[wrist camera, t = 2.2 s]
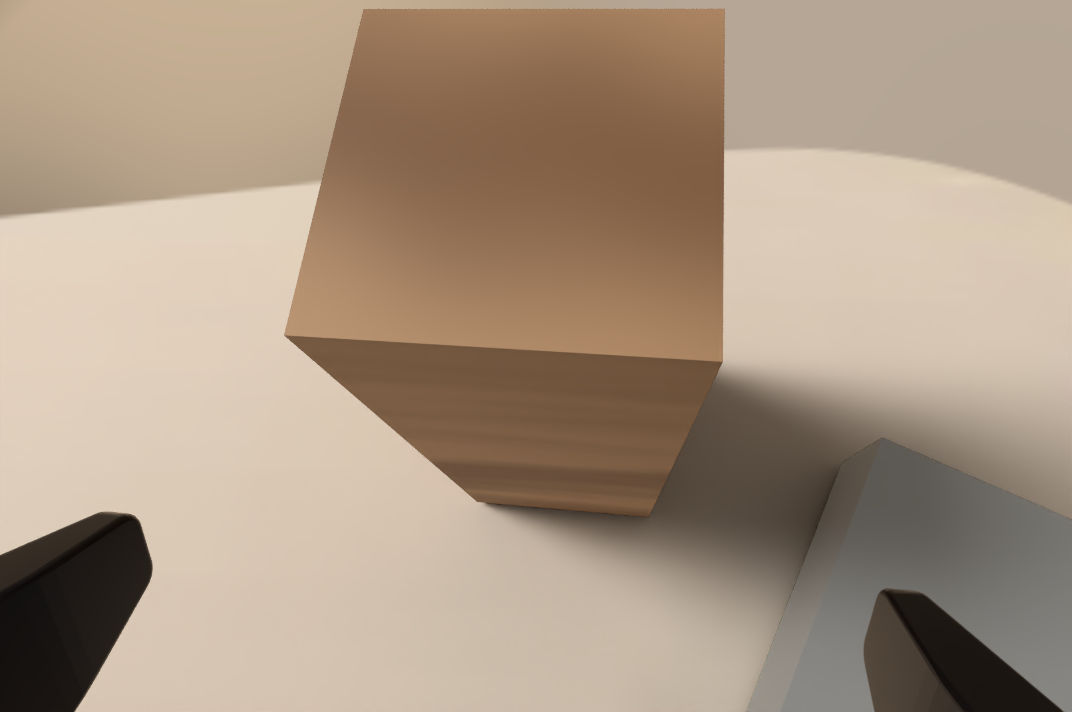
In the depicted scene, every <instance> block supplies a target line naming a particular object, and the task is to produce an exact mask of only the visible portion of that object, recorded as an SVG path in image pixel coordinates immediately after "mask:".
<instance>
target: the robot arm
mask: <svg viewBox="0 0 1072 712" xmlns="http://www.w3.org/2000/svg"><path fill="white" fill-rule="evenodd" d="M152 570H153V565H152V560H151V557H150V553H149V550H148V547H147V543H146V540H145V537H144V533H143V530H142V527H141V524H140V521H139V520H138V519H137V518H136V517H135V516H134V515H131V514H127V513H117V512H100V513H97V514H94V515H92V516H90V517H87V518H85V519H83V520H80V521H78V522H76V523H73V524H71V525H69V526H66V527H64V528H62V529H60V530H57V531H55V532H53V533H50V534H48V535H46V536H43V537H41V538H39V539H36V540H34V541H32V542H29V543H27V544H25V545H23V546H20V547H18V548H16V549H13V550H11V551H9V552H6V553H4V554H2V555H0V712H75V710H76V709H77V707H78V706H79V704H80V703H81V701H82V700H83V698H84V697H85V695H86V693H87V692H88V690H89V688H90V687H91V685H92V683H93V681H94V680H95V678H96V676H97V675H98V673H99V671H100V669H101V668H102V666H103V664H104V662H105V661H106V659H107V657H108V655H109V653H110V652H111V650H112V648H113V646H114V645H115V643H116V641H117V639H118V638H119V636H120V634H121V632H122V630H123V629H124V627H125V625H126V623H127V622H128V620H129V618H130V616H131V615H132V613H133V611H134V609H135V607H136V606H137V604H138V602H139V600H140V599H141V597H142V595H143V593H144V592H145V590H146V588H147V586H148V584H149V582H150V579H151V576H152ZM863 655H864V664H865V669H866V674H867V679H868V683H869V688H870V693H871V698H872V703H873V708H874V712H1064V711H1063V710H1062V709H1061V708H1059V707H1058V706H1057V705H1056V704H1055V703H1054V702H1052V701H1051V700H1050V699H1049V698H1048V697H1046V696H1045V695H1044V694H1043V693H1042V692H1041V691H1039V690H1038V689H1037V688H1036V687H1035V686H1033V685H1032V684H1031V683H1030V682H1029V681H1027V680H1026V679H1025V678H1024V677H1023V676H1022V675H1020V674H1019V673H1018V672H1017V671H1016V670H1014V669H1013V668H1012V667H1011V666H1010V665H1009V664H1007V663H1006V662H1005V661H1004V660H1003V659H1001V658H1000V657H999V656H998V655H997V654H995V653H994V652H993V651H992V650H991V649H990V648H988V647H987V646H986V645H985V644H984V643H982V642H981V641H980V640H979V639H978V638H977V637H975V636H974V635H973V634H972V633H971V632H969V631H968V630H967V629H966V628H965V627H963V626H962V625H961V624H960V623H959V622H958V621H956V620H955V619H954V618H953V617H952V616H950V615H949V614H948V613H947V612H946V611H945V610H943V609H942V608H941V607H940V606H939V605H937V604H936V603H935V602H934V601H933V600H931V599H930V598H929V597H928V596H926V595H925V594H923V593H921V592H919V591H914V590H903V589H893V588H886V589H883V590H881V591H880V592H879V594H878V596H877V598H876V601H875V605H874V608H873V612H872V615H871V619H870V622H869V626H868V629H867V633H866V636H865V640H864V647H863Z"/></svg>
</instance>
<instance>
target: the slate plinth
mask: <svg viewBox="0 0 1072 712" xmlns="http://www.w3.org/2000/svg"><path fill="white" fill-rule="evenodd" d="M886 588H893V589H903V590H914V591H919V592H921V593H923V594H925V595H926V596H928V597H929V598H930V599H931V600H933V601H934V602H935V603H936V604H937V605H939V606H940V607H941V608H942V609H943V610H945V611H946V612H947V613H948V614H949V615H950V616H952V617H953V618H954V619H955V620H956V621H958V622H959V623H960V624H961V625H962V626H963V627H965V628H966V629H967V630H968V631H969V632H971V633H972V634H973V635H974V636H975V637H977V638H978V639H979V640H980V641H981V642H982V643H984V644H985V645H986V646H987V647H988V648H990V649H991V650H992V651H993V652H994V653H995V654H997V655H998V656H999V657H1000V658H1001V659H1003V660H1004V661H1005V662H1006V663H1007V664H1009V665H1010V666H1011V667H1012V668H1013V669H1014V670H1016V671H1017V672H1018V673H1019V674H1020V675H1022V676H1023V677H1024V678H1025V679H1026V680H1027V681H1029V682H1030V683H1031V684H1032V685H1033V686H1035V687H1036V688H1037V689H1038V690H1039V691H1041V692H1042V693H1043V694H1044V695H1045V696H1046V697H1048V698H1049V699H1050V700H1051V701H1052V702H1054V703H1055V704H1056V705H1057V706H1058V707H1059V708H1061V709H1062V710H1063V711H1064V712H1072V520H1071V519H1069V518H1067V517H1064V516H1062V515H1060V514H1058V513H1055V512H1053V511H1051V510H1048V509H1046V508H1044V507H1041V506H1039V505H1037V504H1034V503H1032V502H1030V501H1028V500H1025V499H1023V498H1021V497H1018V496H1016V495H1014V494H1011V493H1009V492H1007V491H1005V490H1002V489H1000V488H998V487H995V486H993V485H991V484H988V483H986V482H984V481H981V480H979V479H977V478H975V477H972V476H970V475H968V474H965V473H963V472H961V471H958V470H956V469H954V468H951V467H949V466H947V465H945V464H942V463H940V462H938V461H935V460H933V459H931V458H928V457H926V456H924V455H921V454H919V453H917V452H915V451H912V450H910V449H908V448H905V447H903V446H901V445H898V444H896V443H894V442H891V441H889V440H887V439H885V438H880V439H879V440H877V441H876V442H874V443H872V444H871V445H869V446H868V447H866V448H864V449H863V450H861V451H860V452H858V453H856V454H855V455H853V456H852V457H850V458H848V459H847V460H845V461H844V462H842V464H841V467H840V469H839V472H838V474H837V477H836V479H835V482H834V485H833V487H832V490H831V492H830V495H829V498H828V500H827V503H826V505H825V508H824V511H823V513H822V516H821V518H820V521H819V524H818V526H817V529H816V531H815V534H814V537H813V539H812V542H811V544H810V547H809V550H808V552H807V555H806V557H805V560H804V563H803V565H802V568H801V570H800V573H799V576H798V578H797V581H796V583H795V586H794V589H793V591H792V594H791V596H790V599H789V602H788V604H787V607H786V609H785V612H784V615H783V617H782V620H781V622H780V625H779V628H778V630H777V633H776V635H775V638H774V641H773V643H772V646H771V648H770V651H769V654H768V656H767V659H766V661H765V664H764V667H763V669H762V672H761V674H760V677H759V680H758V682H757V685H756V687H755V690H754V693H753V695H752V698H751V700H750V703H749V706H748V708H747V711H746V712H874V708H873V703H872V698H871V693H870V688H869V683H868V679H867V674H866V669H865V664H864V655H863V647H864V640H865V636H866V633H867V629H868V626H869V622H870V619H871V615H872V612H873V608H874V605H875V601H876V598H877V596H878V594H879V592H880V591H881V590H883V589H886Z"/></svg>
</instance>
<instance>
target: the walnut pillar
mask: <svg viewBox="0 0 1072 712" xmlns="http://www.w3.org/2000/svg"><path fill="white" fill-rule="evenodd" d="M724 33H725V9H364V10H363V14H362V18H361V22H360V26H359V30H358V34H357V38H356V43H355V47H354V51H353V55H352V59H351V63H350V67H349V71H348V75H347V79H346V84H345V88H344V92H343V96H342V100H341V104H340V108H339V113H338V116H337V120H336V125H335V129H334V133H333V137H332V141H331V146H330V149H329V153H328V158H327V162H326V166H325V170H324V174H323V178H322V182H321V186H320V190H319V194H318V198H317V203H316V207H315V211H314V215H313V219H312V223H311V227H310V231H309V235H308V240H307V244H306V248H305V252H304V256H303V260H302V264H301V268H300V272H299V276H298V281H297V285H296V289H295V293H294V297H293V301H292V305H291V309H290V313H289V318H288V322H287V326H286V330H285V334H284V336H286V337H287V338H288V339H289V340H290V341H291V342H293V343H294V344H295V345H296V346H297V347H298V348H299V349H301V350H302V351H303V352H304V353H305V354H306V355H308V356H309V357H310V358H311V359H312V360H313V361H315V362H316V363H317V364H318V365H319V366H320V367H322V368H323V369H324V370H325V371H326V372H327V373H328V374H330V375H331V376H332V377H333V378H334V379H335V380H337V381H338V382H339V383H340V384H341V385H342V386H344V387H345V388H346V389H347V390H348V391H349V392H351V393H352V394H353V395H354V396H355V397H356V398H357V399H359V400H360V401H361V402H362V403H363V404H364V405H366V406H367V407H368V408H369V409H370V410H371V411H373V412H374V413H375V414H376V415H377V416H378V417H379V418H381V419H382V420H383V421H384V422H385V423H386V424H388V425H389V426H390V427H391V428H392V429H393V430H395V431H396V432H397V433H398V434H399V435H400V436H402V437H403V438H404V439H405V440H406V441H407V442H408V443H410V444H411V445H412V446H413V447H414V448H415V449H417V450H418V451H419V452H420V453H421V454H422V455H424V456H425V457H426V458H427V459H428V460H429V461H431V462H432V463H433V464H434V465H435V466H436V467H437V468H439V469H440V470H441V471H442V472H443V473H444V474H446V475H447V476H448V477H449V478H450V479H451V480H453V481H454V482H455V483H456V484H457V485H458V486H460V487H461V488H462V489H463V490H464V491H465V492H466V493H468V494H469V495H470V496H471V497H472V498H473V499H475V500H476V501H477V502H485V503H496V504H508V505H519V506H530V507H541V508H553V509H564V510H575V511H587V512H598V513H609V514H621V515H632V516H643V517H649V515H650V513H651V511H652V509H653V507H654V505H655V502H656V500H657V498H658V496H659V494H660V492H661V490H662V488H663V486H664V484H665V482H666V479H667V477H668V475H669V473H670V471H671V469H672V467H673V465H674V463H675V461H676V458H677V456H678V454H679V452H680V450H681V448H682V446H683V444H684V442H685V440H686V438H687V435H688V433H689V431H690V429H691V427H692V425H693V423H694V421H695V419H696V417H697V414H698V412H699V410H700V408H701V406H702V404H703V402H704V400H705V398H706V396H707V394H708V391H709V389H710V387H711V385H712V383H713V381H714V379H715V377H716V375H717V373H718V370H719V368H720V366H721V364H722V362H723V222H724V49H725V48H724V46H725V45H724V44H725V40H724V39H725V34H724Z"/></svg>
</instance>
